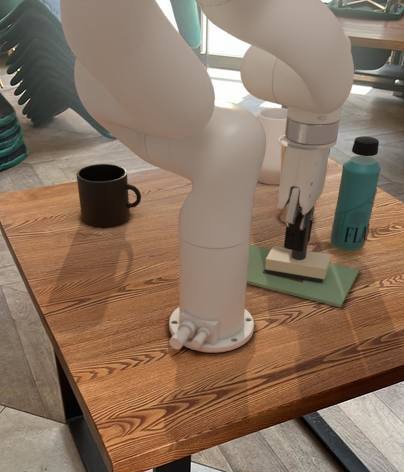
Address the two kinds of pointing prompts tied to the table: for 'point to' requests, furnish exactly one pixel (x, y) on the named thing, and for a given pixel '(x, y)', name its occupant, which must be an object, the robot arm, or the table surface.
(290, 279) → the mat
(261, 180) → the cup
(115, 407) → the table surface
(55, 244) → the table surface
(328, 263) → the scrub brush
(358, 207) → the beverage bottle
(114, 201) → the mug
